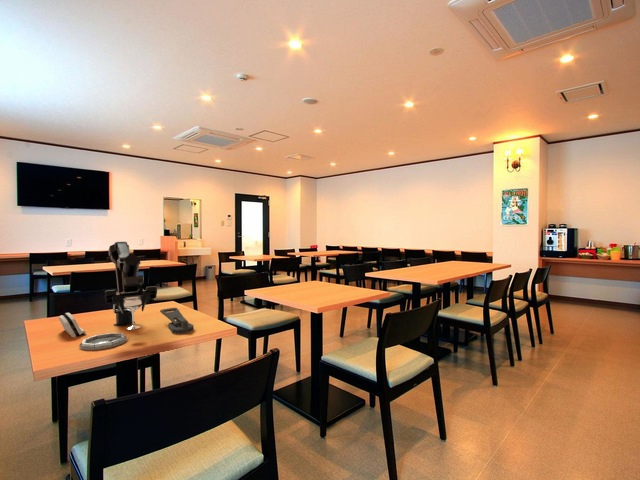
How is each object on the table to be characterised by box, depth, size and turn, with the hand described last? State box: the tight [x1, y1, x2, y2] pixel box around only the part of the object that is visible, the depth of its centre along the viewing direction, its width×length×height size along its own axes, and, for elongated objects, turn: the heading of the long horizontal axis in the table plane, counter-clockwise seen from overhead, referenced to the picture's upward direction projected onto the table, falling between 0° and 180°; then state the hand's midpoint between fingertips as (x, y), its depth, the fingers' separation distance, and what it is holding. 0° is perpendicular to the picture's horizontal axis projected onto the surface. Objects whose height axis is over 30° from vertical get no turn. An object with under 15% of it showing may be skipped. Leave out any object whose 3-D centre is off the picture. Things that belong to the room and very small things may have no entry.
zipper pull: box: [159, 307, 194, 335], centre depth 158 cm, size 9×7×25 cm
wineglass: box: [123, 296, 143, 330], centre depth 138 cm, size 7×7×12 cm
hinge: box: [58, 312, 87, 338], centre depth 151 cm, size 17×5×10 cm, turn 46°
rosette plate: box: [78, 332, 128, 352], centre depth 136 cm, size 16×16×2 cm
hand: (133, 312), depth 137 cm, fingers closed on wineglass, 6 cm apart
